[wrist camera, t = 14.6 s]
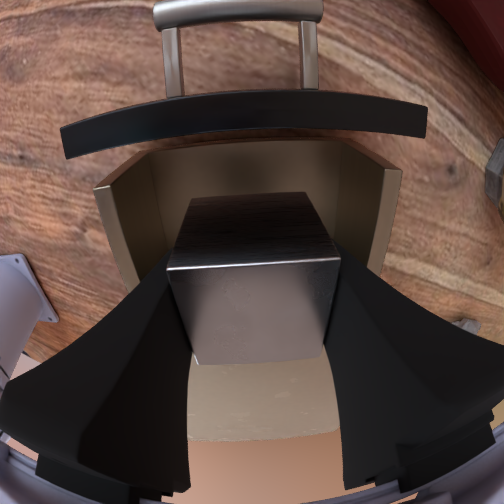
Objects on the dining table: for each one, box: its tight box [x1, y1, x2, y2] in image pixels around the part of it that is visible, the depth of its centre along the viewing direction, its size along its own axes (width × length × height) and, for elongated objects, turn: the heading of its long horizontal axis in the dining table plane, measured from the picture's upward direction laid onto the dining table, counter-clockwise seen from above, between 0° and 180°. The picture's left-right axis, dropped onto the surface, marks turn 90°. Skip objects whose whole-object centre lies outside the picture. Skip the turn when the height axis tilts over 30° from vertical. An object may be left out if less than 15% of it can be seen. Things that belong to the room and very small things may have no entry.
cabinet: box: [187, 344, 340, 441], centre depth 19 cm, size 16×14×8 cm
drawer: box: [60, 0, 428, 293], centre depth 12 cm, size 19×12×6 cm, turn 3°
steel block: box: [166, 192, 341, 365], centre depth 9 cm, size 4×4×4 cm
